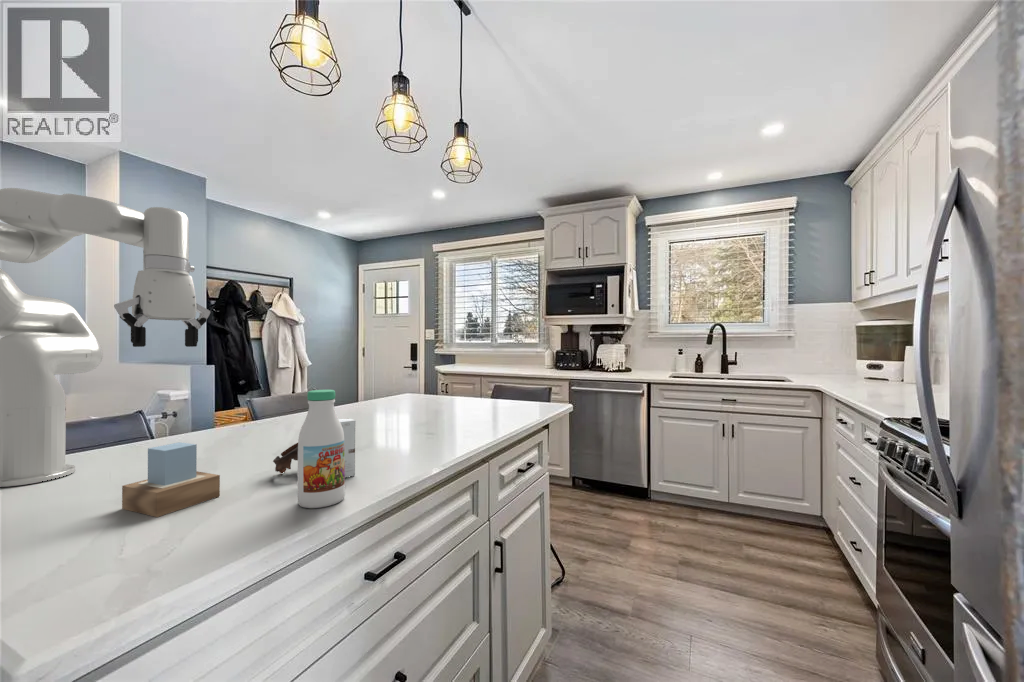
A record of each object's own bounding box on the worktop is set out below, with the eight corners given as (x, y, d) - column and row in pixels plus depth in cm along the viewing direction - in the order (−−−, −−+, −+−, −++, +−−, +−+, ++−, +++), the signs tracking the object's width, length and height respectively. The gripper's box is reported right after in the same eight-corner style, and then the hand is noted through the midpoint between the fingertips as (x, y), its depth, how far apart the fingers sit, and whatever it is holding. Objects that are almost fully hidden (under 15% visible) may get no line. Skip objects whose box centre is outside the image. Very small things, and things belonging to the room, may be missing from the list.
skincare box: (327, 482, 84) (327, 423, 85) (319, 477, 88) (319, 420, 88) (356, 475, 89) (356, 419, 89) (348, 471, 92) (348, 417, 92)
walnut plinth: (122, 508, 71) (122, 485, 71) (185, 490, 81) (185, 469, 81) (157, 517, 68) (157, 492, 68) (219, 496, 77) (219, 474, 77)
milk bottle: (287, 508, 71) (287, 392, 71) (315, 492, 79) (315, 388, 79) (328, 510, 70) (328, 393, 70) (353, 494, 77) (352, 388, 78)
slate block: (147, 482, 73) (147, 448, 73) (179, 474, 77) (179, 442, 78) (165, 485, 71) (165, 450, 71) (196, 477, 76) (196, 444, 76)
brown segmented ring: (318, 482, 86) (295, 451, 85) (282, 500, 87) (258, 470, 86) (342, 453, 98) (322, 425, 96) (309, 469, 99) (290, 442, 97)
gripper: (198, 275, 98) (198, 346, 98) (105, 261, 82) (104, 346, 82) (219, 272, 95) (219, 346, 95) (127, 257, 79) (126, 346, 79)
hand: (166, 346), depth 88 cm, fingers open, 9 cm apart
